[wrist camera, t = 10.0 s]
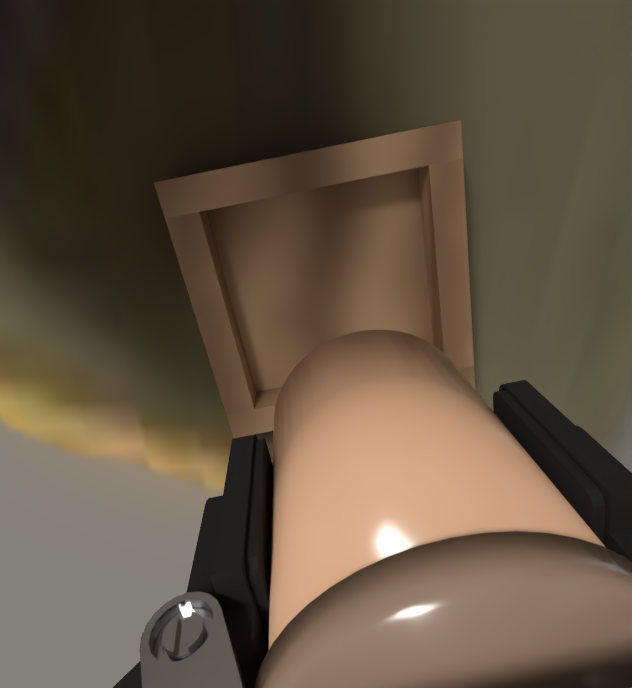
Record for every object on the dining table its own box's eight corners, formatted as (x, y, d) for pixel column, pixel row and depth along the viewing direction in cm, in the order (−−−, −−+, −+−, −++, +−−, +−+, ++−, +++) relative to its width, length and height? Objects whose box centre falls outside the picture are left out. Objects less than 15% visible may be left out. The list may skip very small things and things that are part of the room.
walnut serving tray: (442, 123, 23) (461, 120, 20) (458, 370, 28) (475, 390, 26) (167, 179, 23) (153, 182, 20) (237, 414, 28) (233, 438, 26)
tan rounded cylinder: (468, 301, 12) (773, 541, 5) (478, 482, 14) (691, 832, 7) (243, 347, 12) (185, 657, 5) (290, 519, 14) (302, 908, 7)
